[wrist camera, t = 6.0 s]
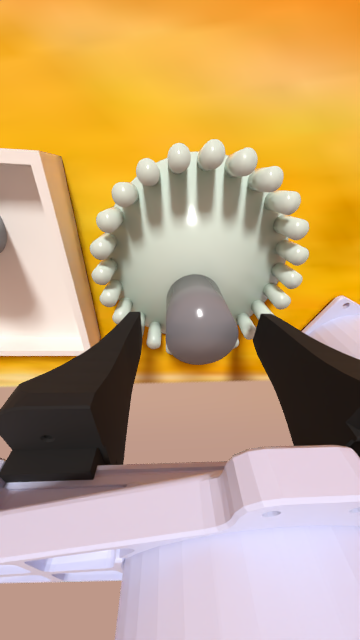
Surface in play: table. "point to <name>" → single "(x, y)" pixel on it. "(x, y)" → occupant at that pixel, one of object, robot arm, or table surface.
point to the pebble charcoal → (198, 321)
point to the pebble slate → (2, 235)
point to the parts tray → (41, 261)
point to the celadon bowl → (199, 235)
